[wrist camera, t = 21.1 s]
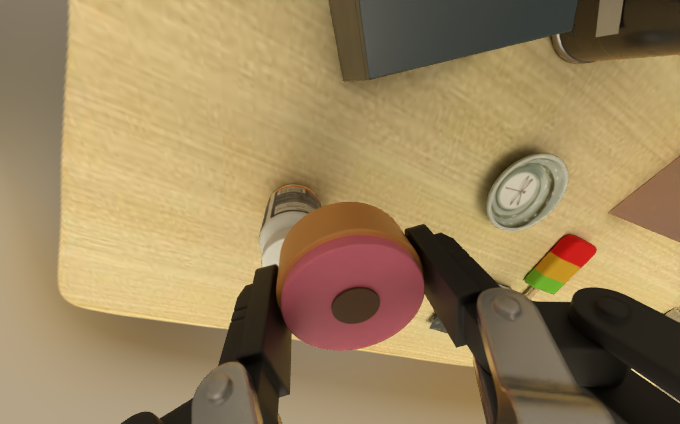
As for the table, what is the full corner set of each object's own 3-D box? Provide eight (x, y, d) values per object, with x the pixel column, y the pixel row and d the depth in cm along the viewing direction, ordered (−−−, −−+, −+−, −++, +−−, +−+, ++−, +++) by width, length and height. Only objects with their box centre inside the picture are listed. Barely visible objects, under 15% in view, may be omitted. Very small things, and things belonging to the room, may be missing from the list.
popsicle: (588, 242, 37) (602, 249, 35) (519, 311, 42) (528, 320, 41) (566, 230, 35) (579, 238, 34) (497, 304, 41) (506, 314, 39)
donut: (397, 185, 9) (429, 219, 7) (408, 285, 12) (435, 334, 9) (259, 222, 9) (246, 269, 7) (301, 314, 12) (301, 371, 9)
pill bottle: (301, 237, 29) (304, 302, 20) (257, 213, 27) (238, 275, 18) (330, 200, 27) (347, 253, 19) (285, 171, 25) (280, 217, 16)
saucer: (490, 147, 28) (506, 153, 25) (563, 149, 29) (584, 154, 27) (466, 223, 32) (478, 233, 30) (531, 221, 33) (547, 230, 31)
